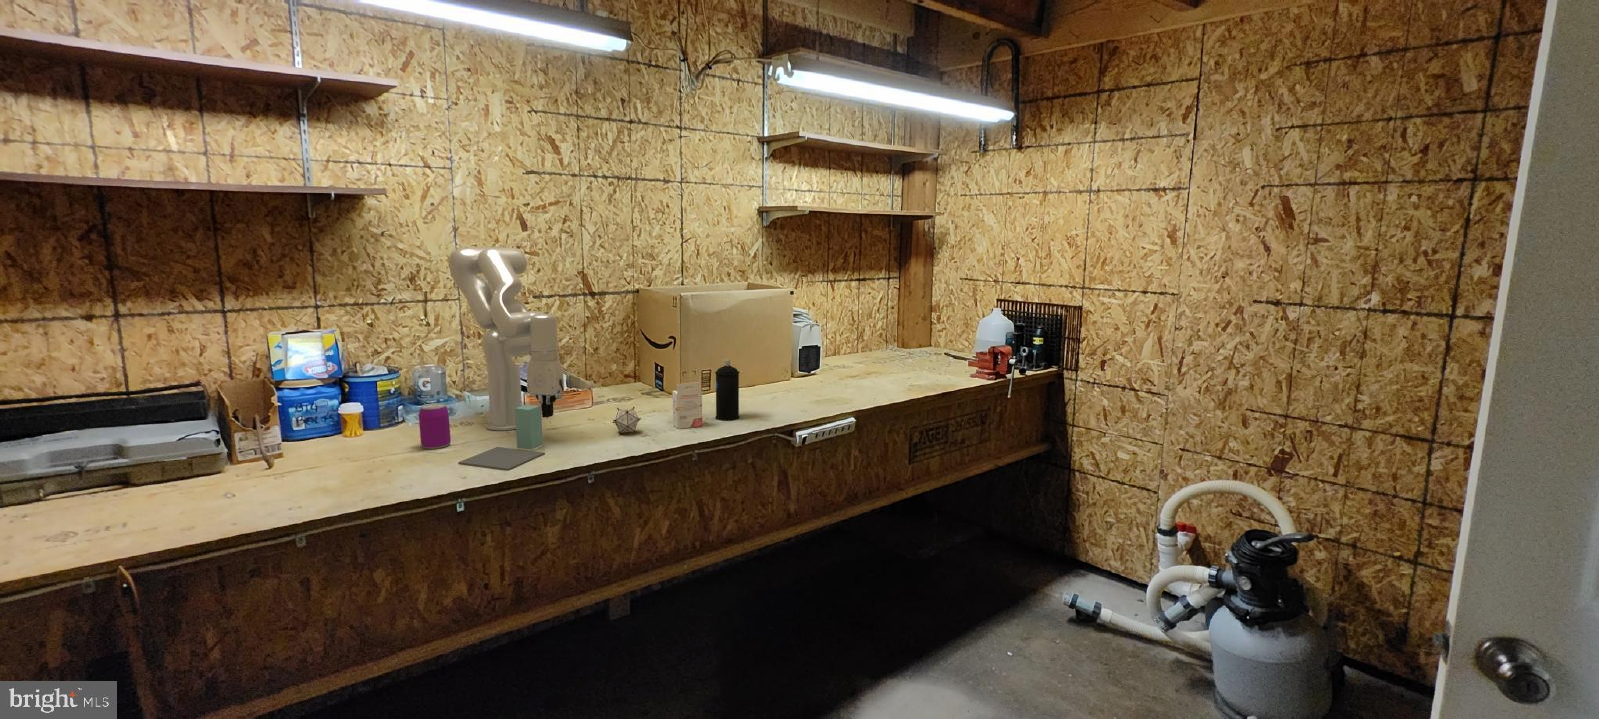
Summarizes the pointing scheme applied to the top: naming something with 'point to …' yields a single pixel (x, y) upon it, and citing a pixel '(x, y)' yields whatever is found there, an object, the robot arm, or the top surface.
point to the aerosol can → (727, 392)
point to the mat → (502, 458)
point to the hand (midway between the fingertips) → (547, 416)
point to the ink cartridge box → (687, 406)
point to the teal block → (528, 427)
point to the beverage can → (434, 426)
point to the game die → (626, 420)
